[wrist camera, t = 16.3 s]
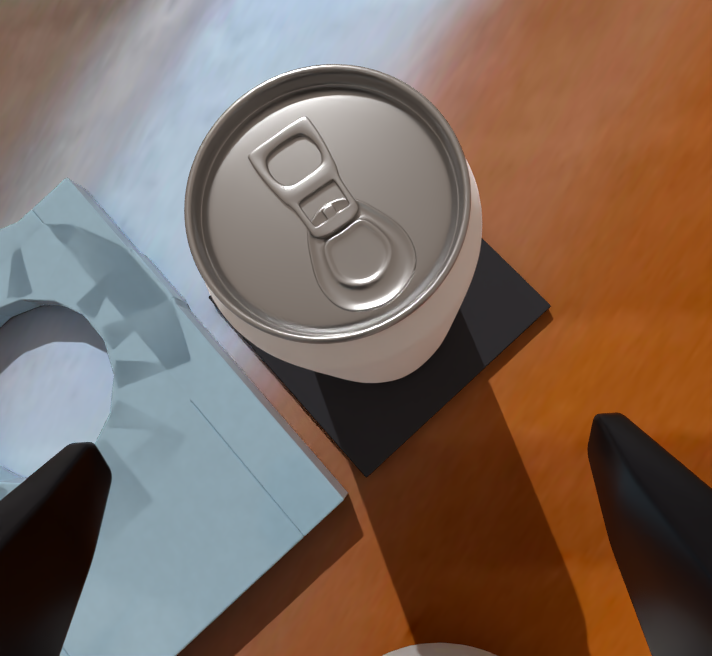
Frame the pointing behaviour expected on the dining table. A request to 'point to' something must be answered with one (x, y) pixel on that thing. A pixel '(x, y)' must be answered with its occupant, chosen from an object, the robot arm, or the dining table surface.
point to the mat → (427, 383)
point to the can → (335, 221)
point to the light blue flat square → (163, 440)
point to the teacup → (439, 650)
